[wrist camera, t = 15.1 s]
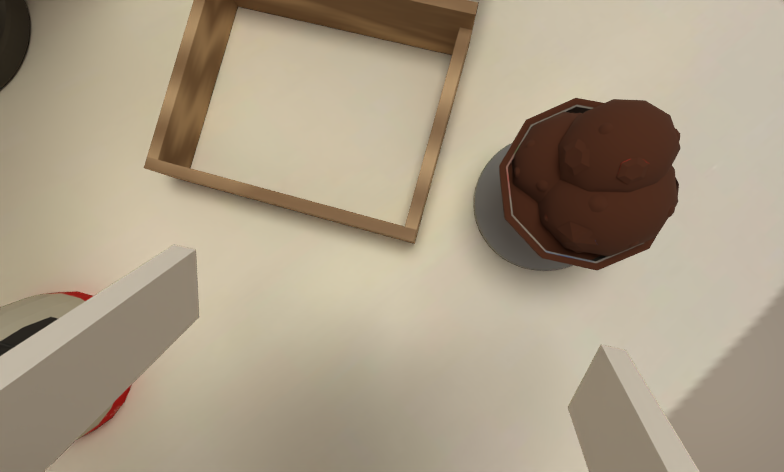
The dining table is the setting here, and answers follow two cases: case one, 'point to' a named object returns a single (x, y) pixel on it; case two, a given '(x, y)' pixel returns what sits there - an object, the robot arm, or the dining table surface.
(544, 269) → the coaster
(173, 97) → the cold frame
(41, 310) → the kitchen timer
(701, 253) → the dining table surface
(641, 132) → the ice cream bowl
